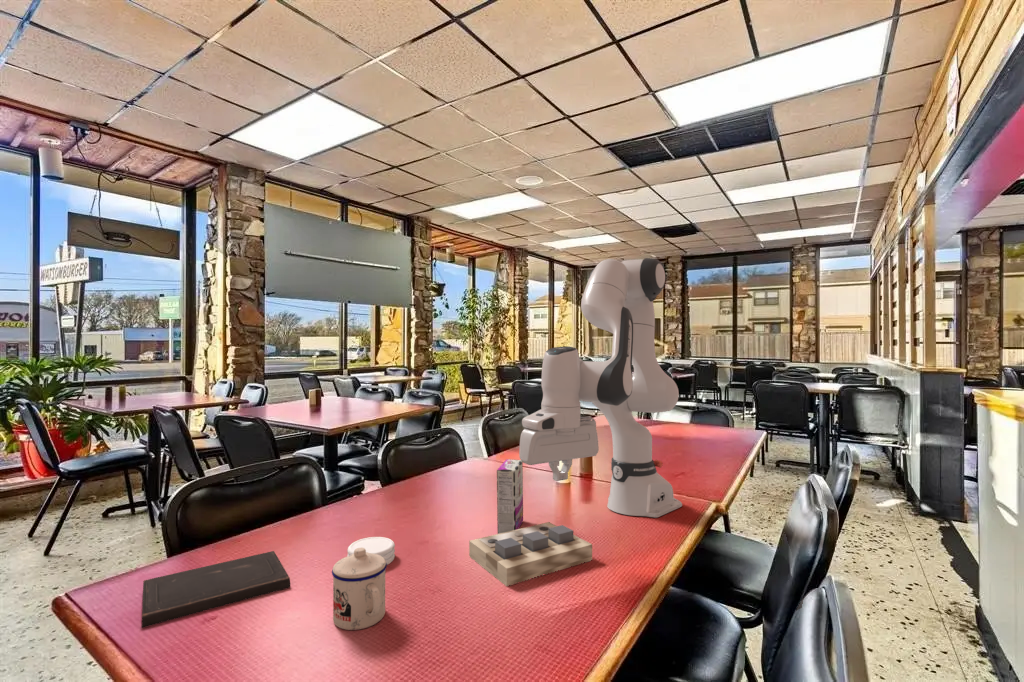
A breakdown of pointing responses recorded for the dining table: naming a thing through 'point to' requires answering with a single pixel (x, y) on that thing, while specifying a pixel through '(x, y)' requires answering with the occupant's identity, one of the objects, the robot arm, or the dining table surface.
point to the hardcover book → (211, 587)
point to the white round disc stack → (375, 547)
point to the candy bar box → (509, 495)
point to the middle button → (535, 541)
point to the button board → (528, 555)
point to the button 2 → (560, 534)
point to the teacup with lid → (359, 590)
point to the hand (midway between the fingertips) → (560, 479)
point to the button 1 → (507, 548)
